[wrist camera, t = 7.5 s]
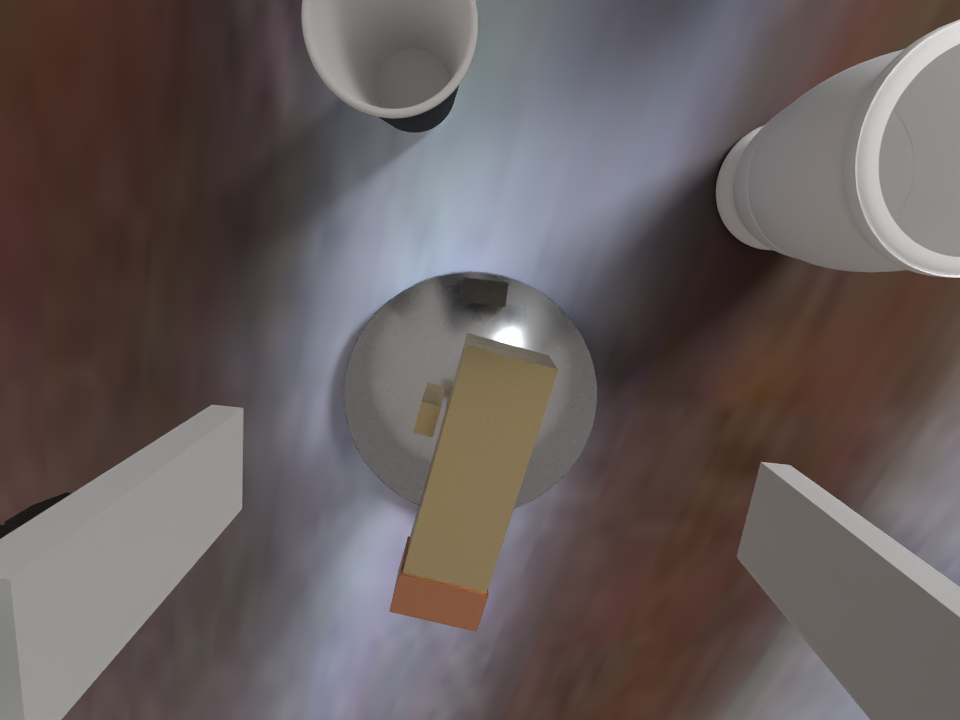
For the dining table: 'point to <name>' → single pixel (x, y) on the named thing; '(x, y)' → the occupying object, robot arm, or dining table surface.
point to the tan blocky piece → (471, 479)
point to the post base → (435, 357)
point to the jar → (859, 167)
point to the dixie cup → (393, 55)
